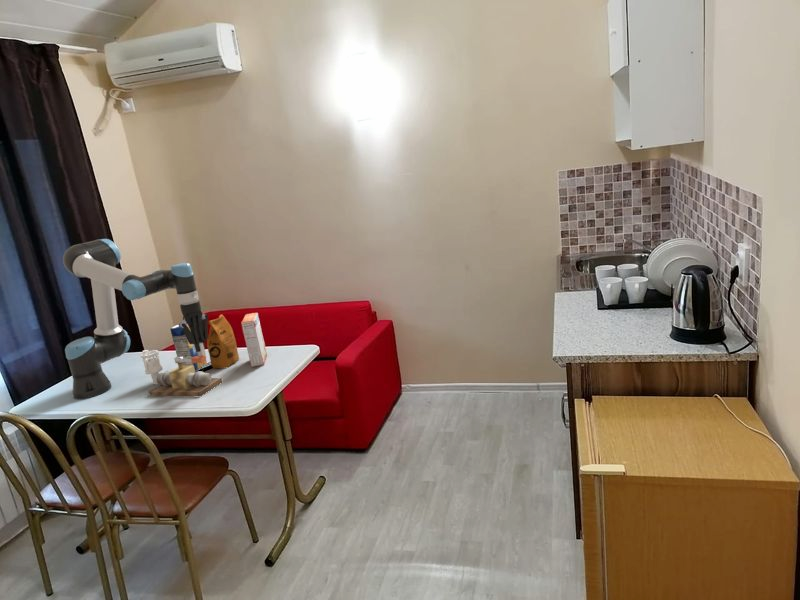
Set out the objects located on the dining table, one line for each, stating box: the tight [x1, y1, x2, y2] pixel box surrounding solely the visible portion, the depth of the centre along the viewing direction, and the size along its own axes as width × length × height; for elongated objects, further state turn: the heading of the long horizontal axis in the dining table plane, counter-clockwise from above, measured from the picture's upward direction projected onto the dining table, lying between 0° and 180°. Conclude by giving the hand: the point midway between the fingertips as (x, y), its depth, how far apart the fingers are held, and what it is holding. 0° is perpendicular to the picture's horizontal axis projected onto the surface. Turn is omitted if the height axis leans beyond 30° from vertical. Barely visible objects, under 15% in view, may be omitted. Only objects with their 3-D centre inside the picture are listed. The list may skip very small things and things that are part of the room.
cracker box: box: [240, 312, 268, 368], centre depth 264 cm, size 14×6×21 cm, turn 6°
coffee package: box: [206, 314, 240, 369], centre depth 268 cm, size 10×12×22 cm
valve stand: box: [148, 362, 223, 397], centre depth 243 cm, size 26×14×12 cm, turn 69°
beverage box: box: [169, 321, 208, 373], centre depth 264 cm, size 7×11×22 cm, turn 170°
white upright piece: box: [140, 349, 164, 385], centre depth 256 cm, size 7×7×15 cm
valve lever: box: [174, 356, 207, 364], centre depth 240 cm, size 14×3×2 cm, turn 69°
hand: (202, 358), depth 241 cm, fingers closed
